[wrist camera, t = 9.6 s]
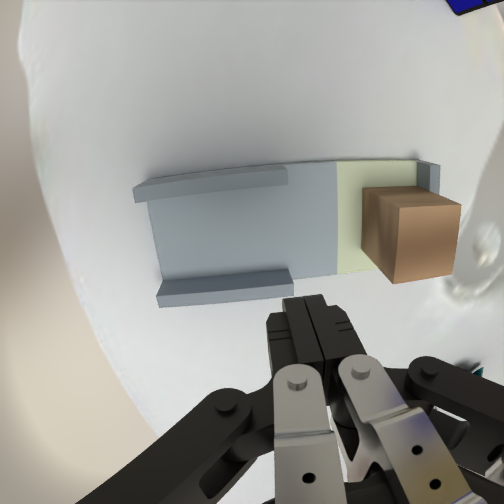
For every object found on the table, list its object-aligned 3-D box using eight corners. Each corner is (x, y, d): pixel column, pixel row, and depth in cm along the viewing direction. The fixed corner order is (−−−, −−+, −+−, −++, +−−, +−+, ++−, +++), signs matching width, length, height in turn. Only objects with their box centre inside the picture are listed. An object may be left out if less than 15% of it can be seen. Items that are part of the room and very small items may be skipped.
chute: (147, 179, 22) (132, 188, 19) (420, 160, 22) (444, 166, 19) (168, 285, 25) (159, 307, 22) (414, 258, 25) (433, 275, 22)
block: (362, 187, 22) (399, 207, 16) (416, 185, 22) (461, 204, 16) (361, 249, 24) (393, 284, 18) (412, 243, 24) (451, 274, 18)
